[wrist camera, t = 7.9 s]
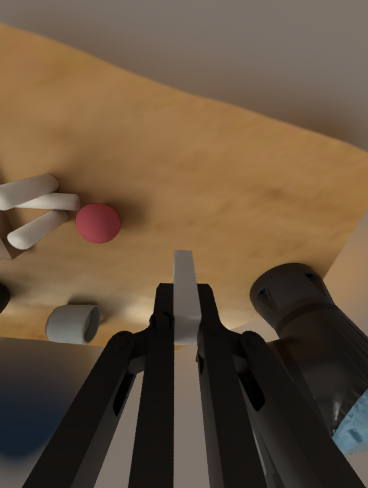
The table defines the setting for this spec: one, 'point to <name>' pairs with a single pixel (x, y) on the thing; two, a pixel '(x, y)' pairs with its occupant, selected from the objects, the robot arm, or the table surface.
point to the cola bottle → (3, 297)
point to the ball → (97, 223)
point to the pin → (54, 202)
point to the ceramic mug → (73, 324)
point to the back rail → (6, 240)
